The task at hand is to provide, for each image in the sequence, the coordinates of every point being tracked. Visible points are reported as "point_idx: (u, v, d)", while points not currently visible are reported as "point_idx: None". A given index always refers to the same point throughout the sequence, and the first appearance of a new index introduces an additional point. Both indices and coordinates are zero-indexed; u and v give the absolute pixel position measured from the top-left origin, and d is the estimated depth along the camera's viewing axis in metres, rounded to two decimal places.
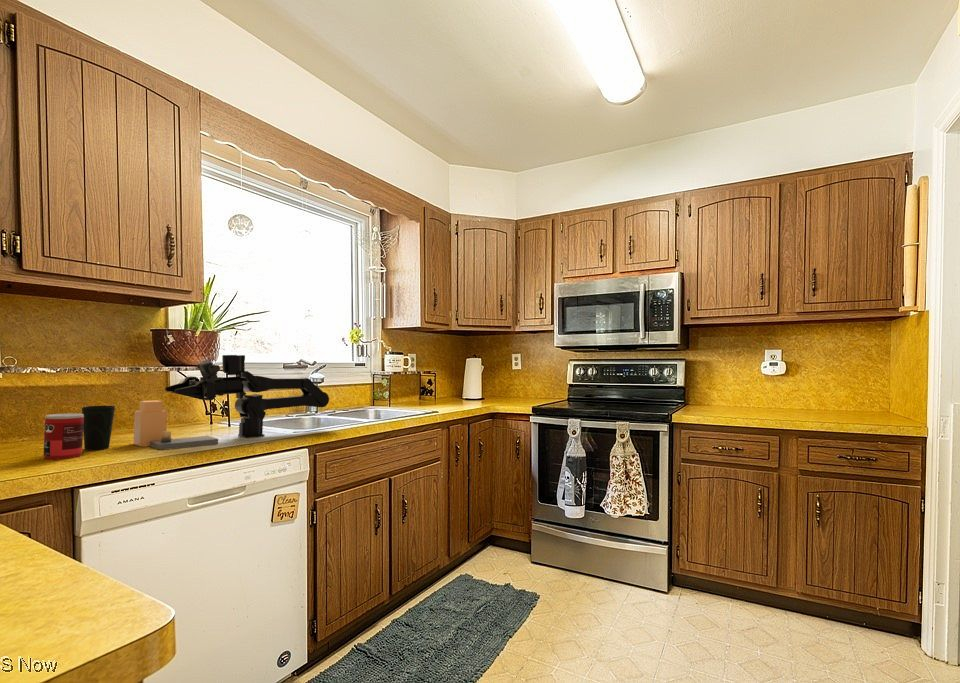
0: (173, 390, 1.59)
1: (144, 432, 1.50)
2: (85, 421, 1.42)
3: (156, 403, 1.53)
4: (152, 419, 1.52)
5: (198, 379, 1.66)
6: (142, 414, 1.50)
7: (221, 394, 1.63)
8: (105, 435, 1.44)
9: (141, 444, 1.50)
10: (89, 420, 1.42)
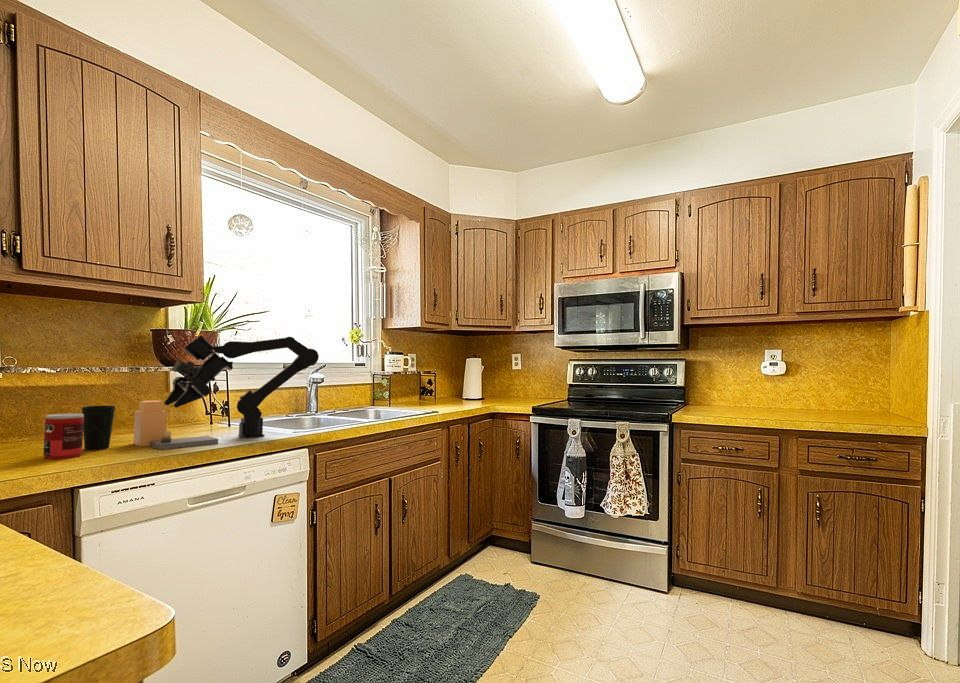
0: (172, 400, 1.63)
1: (144, 432, 1.50)
2: (85, 421, 1.42)
3: (156, 403, 1.53)
4: (152, 419, 1.52)
5: (184, 377, 1.66)
6: (142, 414, 1.50)
7: (213, 379, 1.66)
8: (105, 435, 1.44)
9: (141, 444, 1.50)
10: (89, 420, 1.42)
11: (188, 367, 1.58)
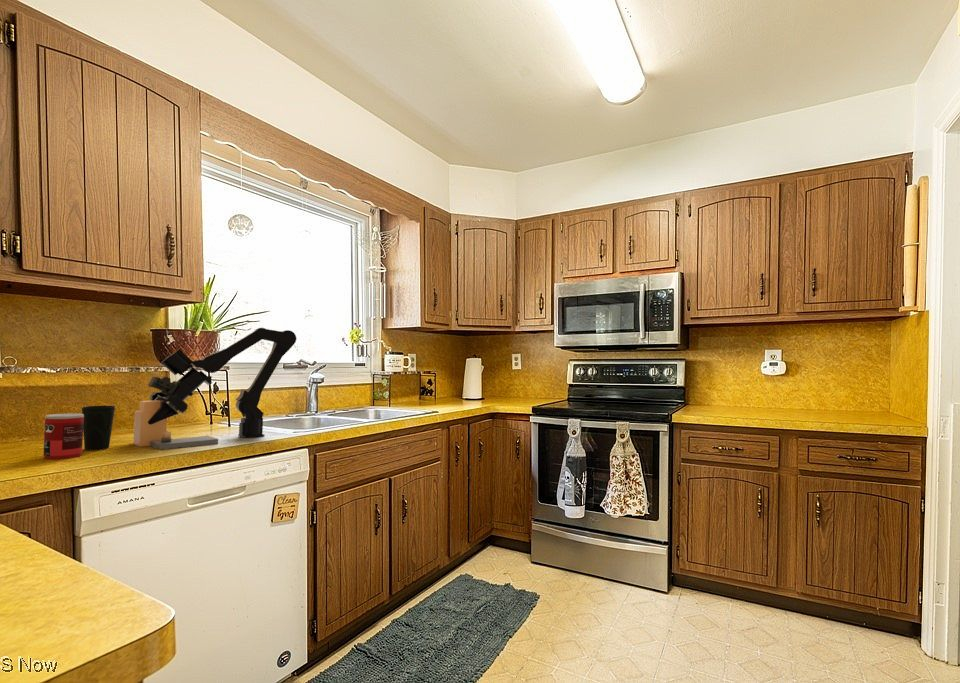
0: None
1: (144, 432, 1.50)
2: (85, 421, 1.42)
3: (156, 403, 1.53)
4: None
5: (161, 392, 1.61)
6: (142, 414, 1.50)
7: (191, 394, 1.61)
8: (105, 435, 1.44)
9: (141, 444, 1.49)
10: (89, 420, 1.42)
11: (164, 383, 1.53)
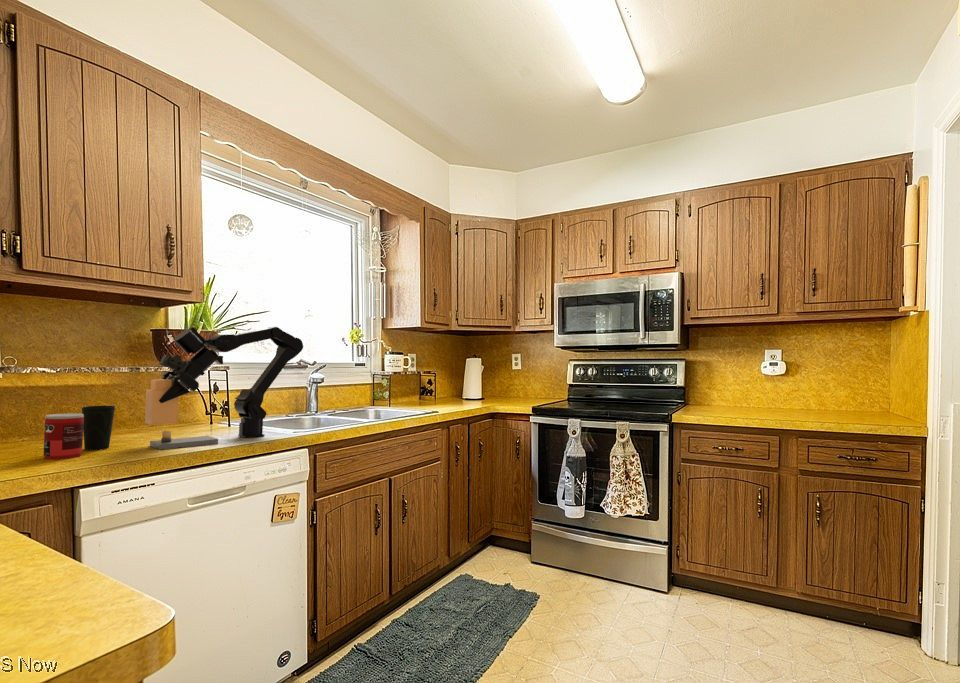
0: None
1: (155, 410, 1.48)
2: (85, 421, 1.42)
3: (167, 381, 1.51)
4: None
5: (172, 372, 1.59)
6: (153, 392, 1.48)
7: (202, 373, 1.58)
8: (105, 435, 1.44)
9: (152, 423, 1.47)
10: (89, 420, 1.42)
11: (175, 361, 1.51)
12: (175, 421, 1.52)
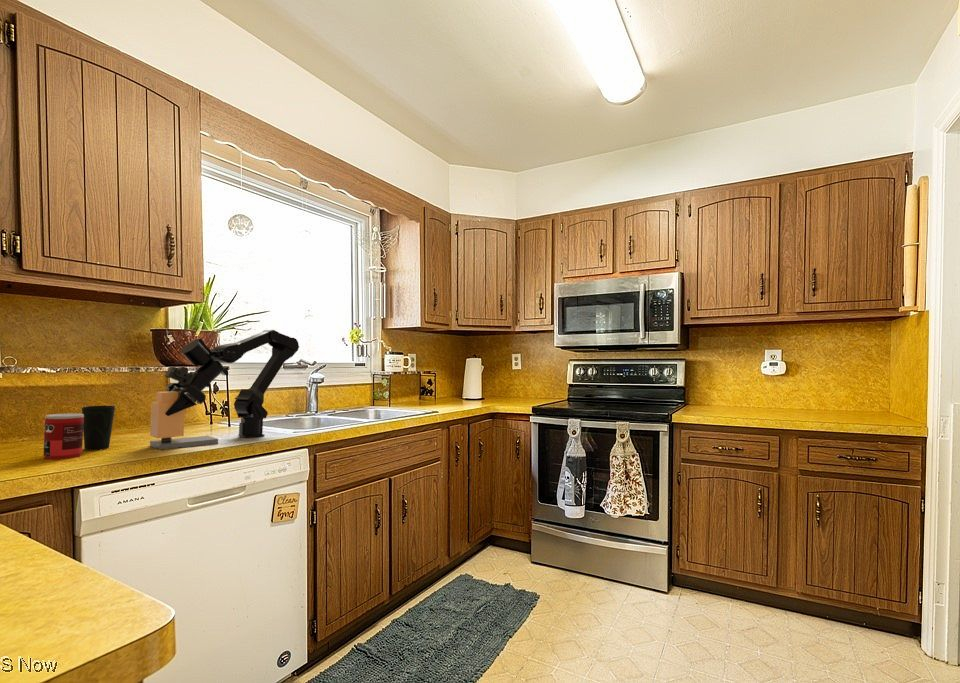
0: None
1: (162, 423, 1.46)
2: (85, 421, 1.42)
3: (173, 394, 1.49)
4: None
5: (177, 383, 1.57)
6: (159, 405, 1.46)
7: (208, 385, 1.57)
8: (105, 435, 1.44)
9: (159, 436, 1.46)
10: (89, 420, 1.42)
11: (182, 373, 1.49)
12: (181, 434, 1.50)
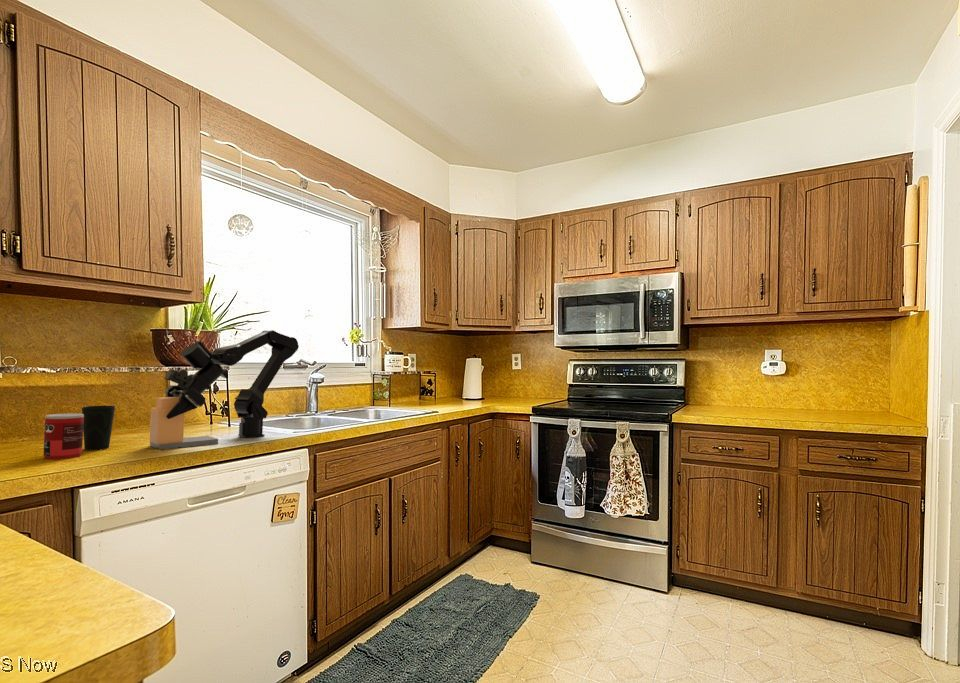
0: None
1: (161, 429, 1.46)
2: (85, 421, 1.42)
3: (173, 400, 1.49)
4: None
5: (177, 386, 1.57)
6: (159, 411, 1.46)
7: (208, 387, 1.56)
8: (105, 435, 1.44)
9: (158, 442, 1.45)
10: (89, 420, 1.42)
11: (181, 376, 1.49)
12: (181, 440, 1.50)
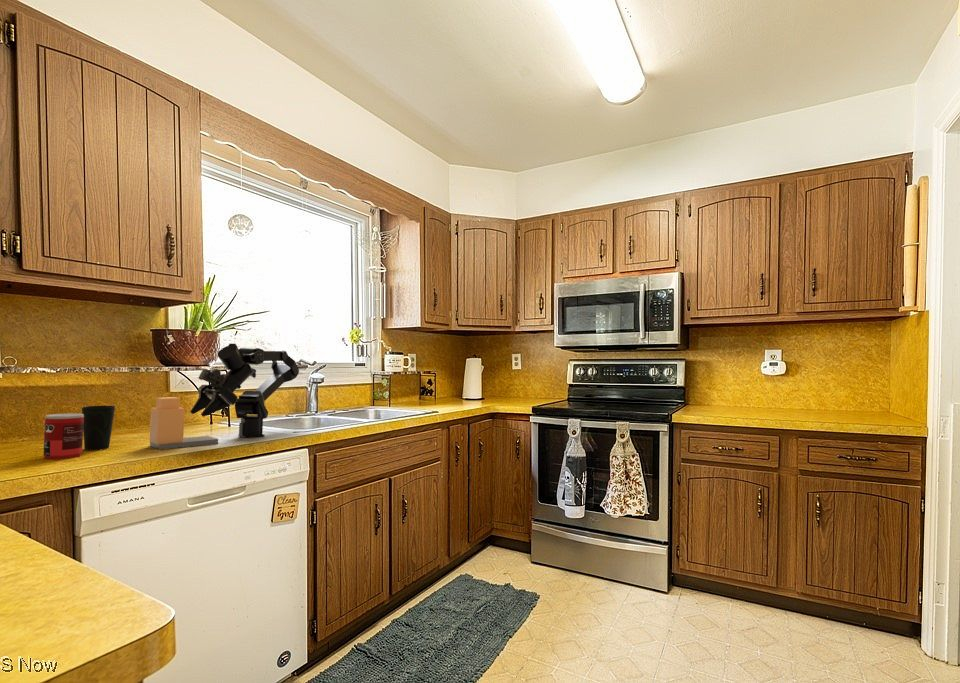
0: (198, 409, 1.61)
1: (161, 429, 1.46)
2: (85, 421, 1.42)
3: (173, 400, 1.49)
4: (169, 416, 1.48)
5: (209, 385, 1.64)
6: (159, 411, 1.46)
7: (239, 387, 1.63)
8: (105, 435, 1.44)
9: (158, 442, 1.45)
10: (89, 420, 1.42)
11: (215, 375, 1.56)
12: (181, 440, 1.50)
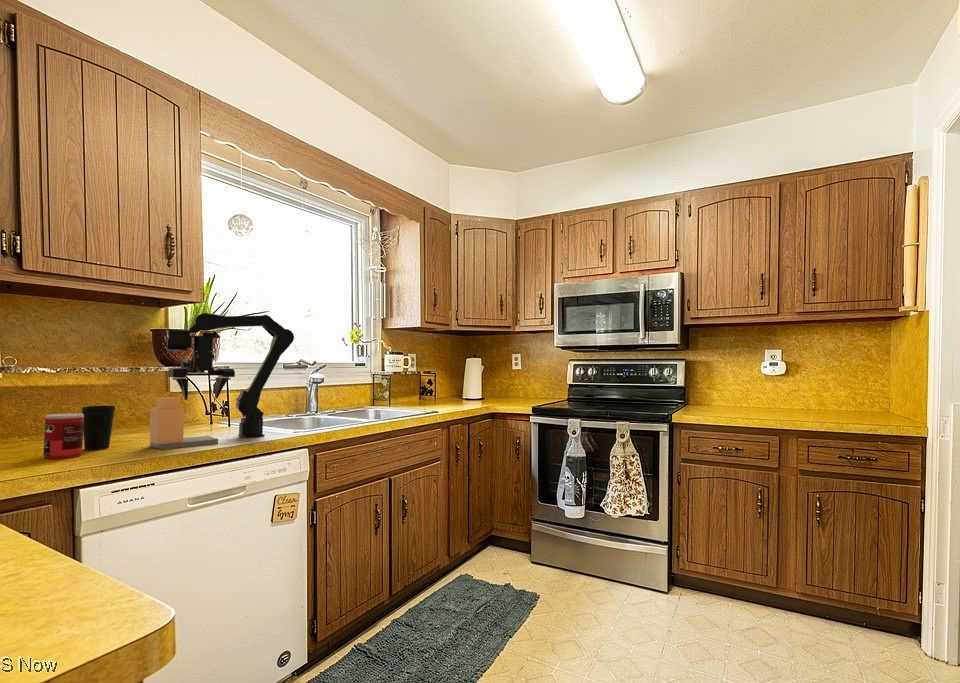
0: (216, 392, 1.68)
1: (161, 429, 1.46)
2: (85, 421, 1.42)
3: (173, 400, 1.49)
4: (169, 416, 1.48)
5: (217, 369, 1.70)
6: (159, 411, 1.46)
7: (197, 356, 1.62)
8: (105, 435, 1.44)
9: (158, 442, 1.45)
10: (89, 420, 1.42)
11: (182, 365, 1.66)
12: (181, 440, 1.50)
